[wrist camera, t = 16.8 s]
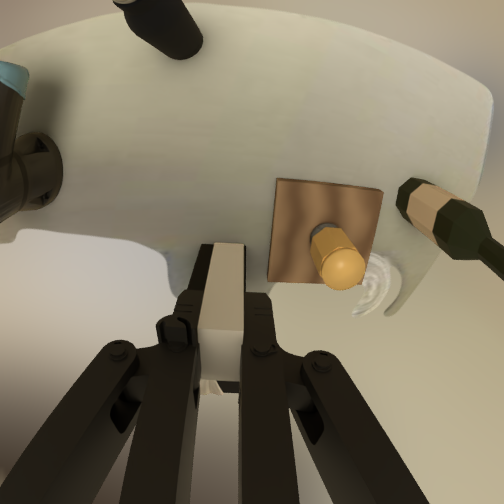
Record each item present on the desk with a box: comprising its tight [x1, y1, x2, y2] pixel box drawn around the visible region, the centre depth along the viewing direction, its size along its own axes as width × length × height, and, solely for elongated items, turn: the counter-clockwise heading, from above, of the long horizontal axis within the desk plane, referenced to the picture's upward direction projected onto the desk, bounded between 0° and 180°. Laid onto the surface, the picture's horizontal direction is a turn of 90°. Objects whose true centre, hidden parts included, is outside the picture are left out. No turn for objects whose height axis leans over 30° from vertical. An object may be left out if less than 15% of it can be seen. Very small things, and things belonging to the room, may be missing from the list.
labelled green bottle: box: [396, 177, 504, 281], centre depth 33 cm, size 8×8×30 cm
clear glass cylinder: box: [310, 222, 338, 244], centre depth 43 cm, size 6×6×10 cm
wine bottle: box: [113, 0, 203, 60], centre depth 21 cm, size 6×6×30 cm
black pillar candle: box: [187, 244, 246, 395], centre depth 39 cm, size 8×8×28 cm
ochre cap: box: [310, 227, 365, 290], centre depth 41 cm, size 6×6×8 cm
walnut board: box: [267, 178, 384, 285], centre depth 49 cm, size 18×18×2 cm
